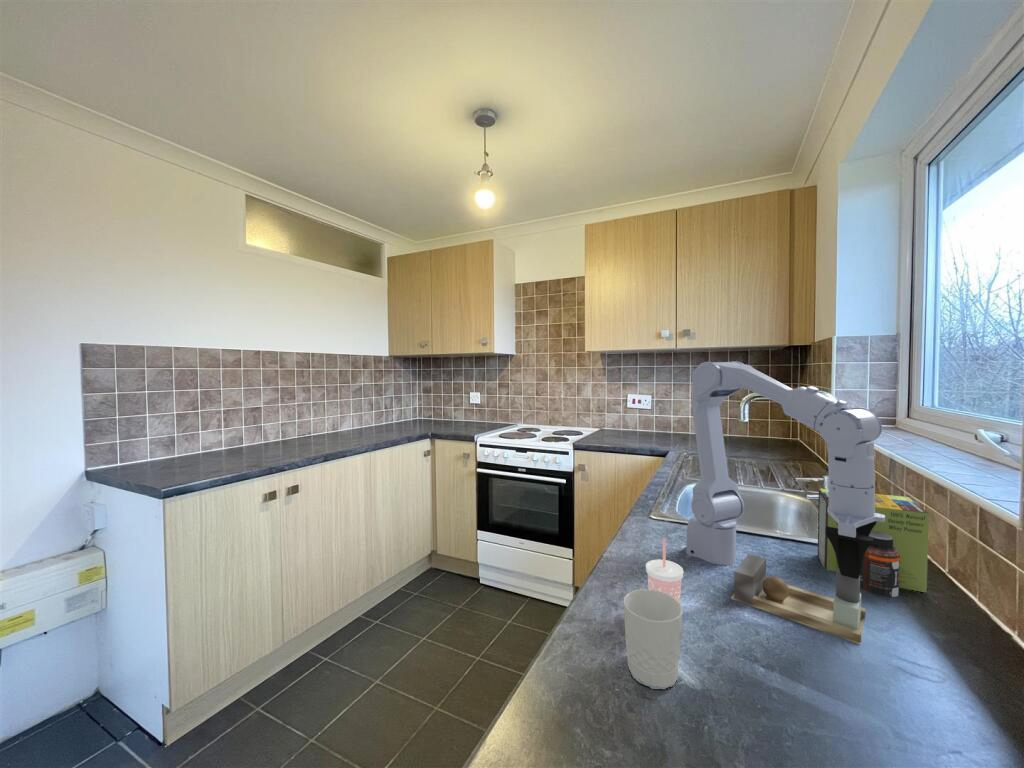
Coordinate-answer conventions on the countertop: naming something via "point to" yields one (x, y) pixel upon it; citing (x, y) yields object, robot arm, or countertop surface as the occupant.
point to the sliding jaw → (847, 601)
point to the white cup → (653, 636)
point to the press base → (790, 601)
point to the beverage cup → (665, 576)
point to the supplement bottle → (881, 566)
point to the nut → (775, 589)
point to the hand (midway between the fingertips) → (852, 567)
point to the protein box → (900, 523)
